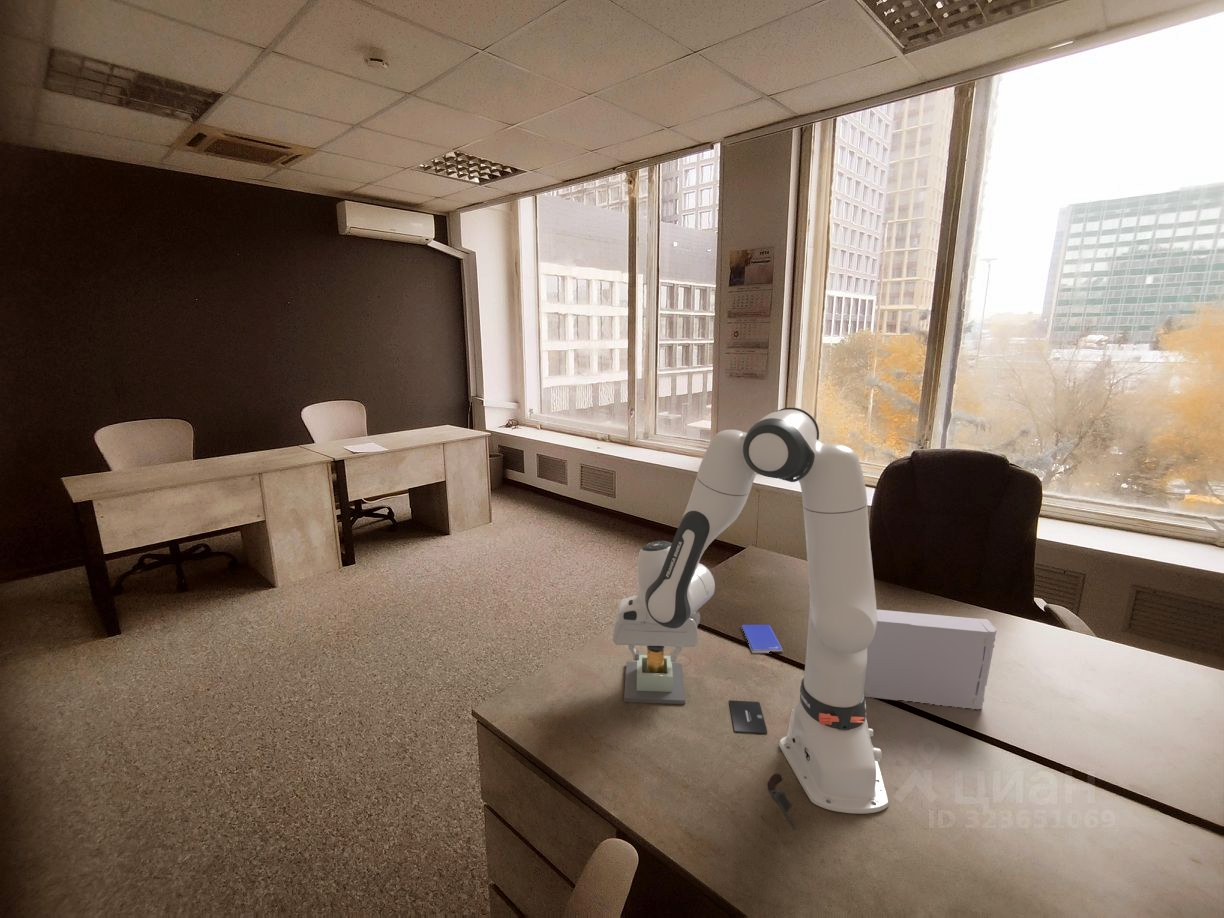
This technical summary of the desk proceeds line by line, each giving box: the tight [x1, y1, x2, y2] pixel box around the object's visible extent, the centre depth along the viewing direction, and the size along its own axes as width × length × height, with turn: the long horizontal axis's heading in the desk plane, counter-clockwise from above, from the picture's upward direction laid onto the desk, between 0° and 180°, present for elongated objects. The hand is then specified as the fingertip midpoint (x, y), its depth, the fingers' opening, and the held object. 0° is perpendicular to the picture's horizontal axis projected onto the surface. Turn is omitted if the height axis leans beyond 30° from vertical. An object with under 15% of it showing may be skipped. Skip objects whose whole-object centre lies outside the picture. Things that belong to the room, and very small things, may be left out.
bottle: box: [646, 646, 666, 673], centre depth 131 cm, size 4×4×10 cm
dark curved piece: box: [767, 773, 798, 831], centre depth 99 cm, size 14×4×1 cm, turn 13°
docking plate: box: [624, 654, 686, 705], centre depth 132 cm, size 14×14×5 cm
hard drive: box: [741, 624, 784, 654], centre depth 151 cm, size 2×8×12 cm
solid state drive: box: [728, 699, 768, 735], centre depth 121 cm, size 7×10×1 cm
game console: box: [864, 609, 997, 710], centre depth 125 cm, size 6×27×20 cm, turn 78°
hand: (654, 659), depth 131 cm, fingers open, 8 cm apart
